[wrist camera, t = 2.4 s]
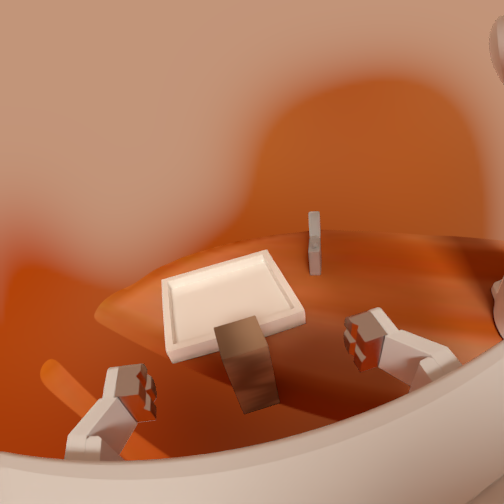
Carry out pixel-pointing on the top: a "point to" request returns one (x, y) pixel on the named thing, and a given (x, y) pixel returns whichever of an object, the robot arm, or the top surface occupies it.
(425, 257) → the top surface
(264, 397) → the walnut block
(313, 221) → the lighter
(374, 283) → the top surface
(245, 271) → the tray
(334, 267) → the top surface
